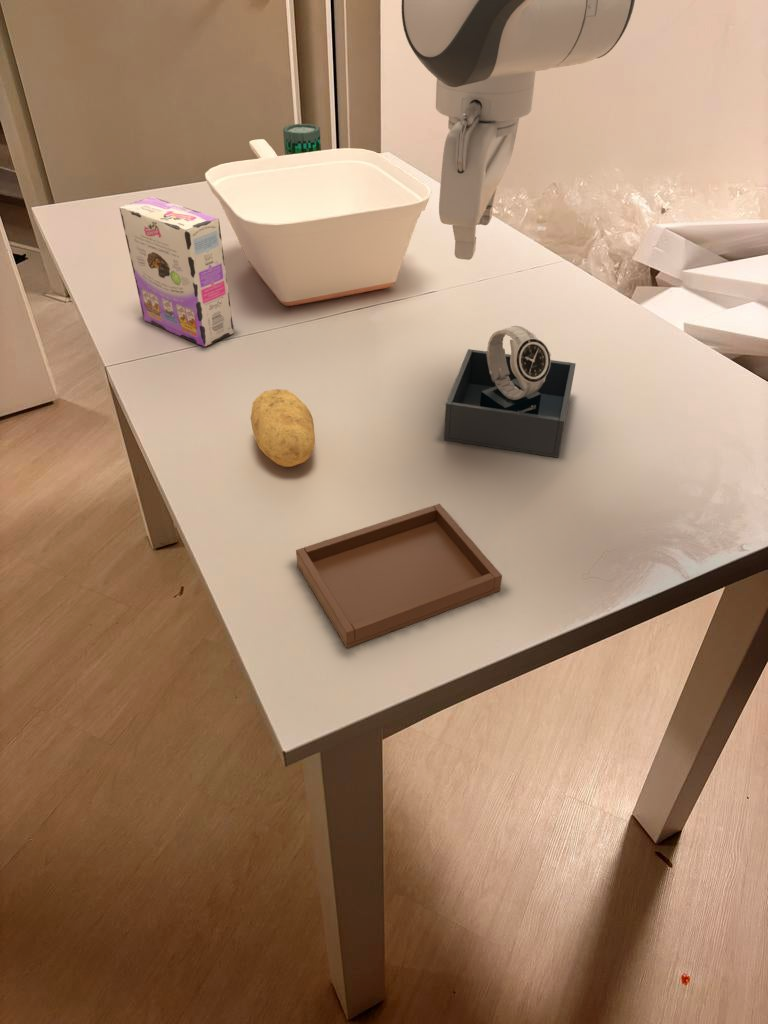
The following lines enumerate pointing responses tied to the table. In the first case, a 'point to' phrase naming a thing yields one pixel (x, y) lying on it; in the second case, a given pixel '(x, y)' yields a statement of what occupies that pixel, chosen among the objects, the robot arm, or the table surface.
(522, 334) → the watch
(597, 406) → the table surface
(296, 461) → the potato
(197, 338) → the candy box
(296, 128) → the can
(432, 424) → the table surface
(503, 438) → the bin
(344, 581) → the tray
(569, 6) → the robot arm
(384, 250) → the pot
